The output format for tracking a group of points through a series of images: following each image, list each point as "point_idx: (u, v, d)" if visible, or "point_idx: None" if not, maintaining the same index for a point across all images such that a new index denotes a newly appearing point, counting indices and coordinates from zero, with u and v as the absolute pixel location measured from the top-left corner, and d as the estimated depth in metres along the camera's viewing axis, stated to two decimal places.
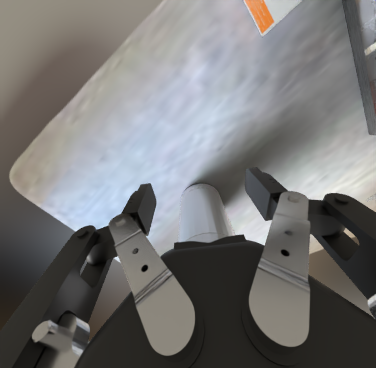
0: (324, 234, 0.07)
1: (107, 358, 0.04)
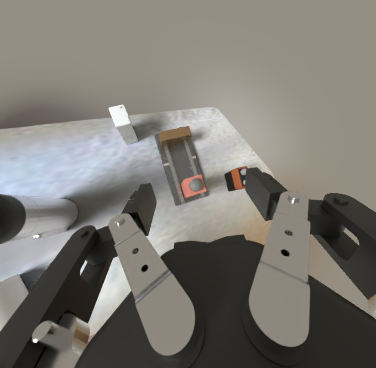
0: (324, 234, 0.07)
1: (107, 358, 0.04)
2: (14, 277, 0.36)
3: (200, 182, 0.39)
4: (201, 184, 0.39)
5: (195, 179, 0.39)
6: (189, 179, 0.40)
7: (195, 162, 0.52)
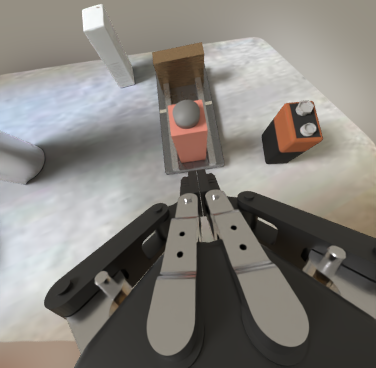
0: (249, 229, 0.08)
1: (112, 359, 0.04)
2: None
3: (195, 108, 0.19)
4: (196, 111, 0.19)
5: (185, 102, 0.19)
6: None
7: (210, 110, 0.31)
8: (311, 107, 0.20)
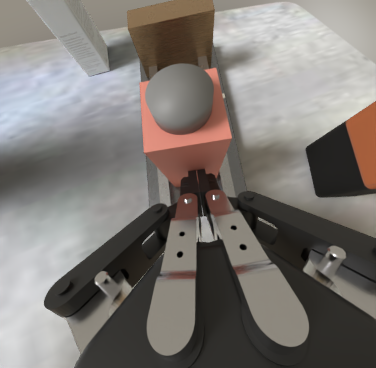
0: (249, 229, 0.08)
1: (112, 359, 0.04)
2: None
3: (201, 82, 0.07)
4: (205, 91, 0.07)
5: (178, 68, 0.08)
6: None
7: None
8: None
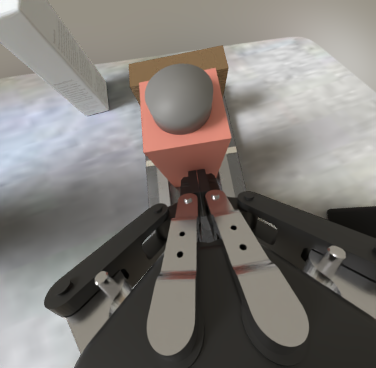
0: (249, 229, 0.08)
1: (112, 359, 0.04)
2: None
3: (201, 82, 0.07)
4: (204, 91, 0.07)
5: (177, 68, 0.08)
6: None
7: (233, 164, 0.18)
8: None
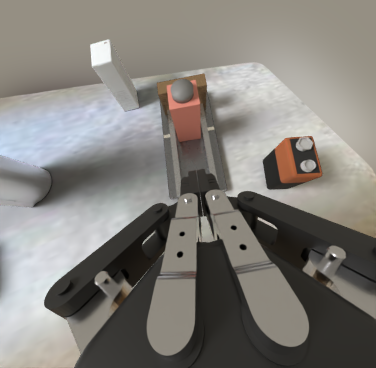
0: (249, 229, 0.08)
1: (112, 359, 0.04)
2: None
3: (189, 85, 0.22)
4: (190, 88, 0.22)
5: (181, 80, 0.23)
6: None
7: (212, 136, 0.32)
8: (310, 144, 0.21)
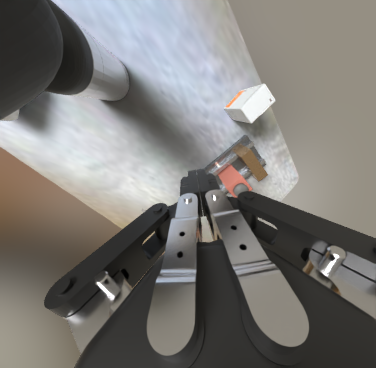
0: (249, 229, 0.08)
1: (112, 359, 0.04)
2: None
3: None
4: None
5: (246, 188, 0.36)
6: (244, 181, 0.37)
7: None
8: None
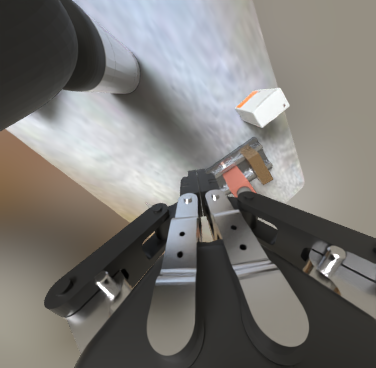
0: (249, 229, 0.08)
1: (112, 359, 0.04)
2: None
3: None
4: None
5: None
6: (248, 184, 0.37)
7: None
8: None
